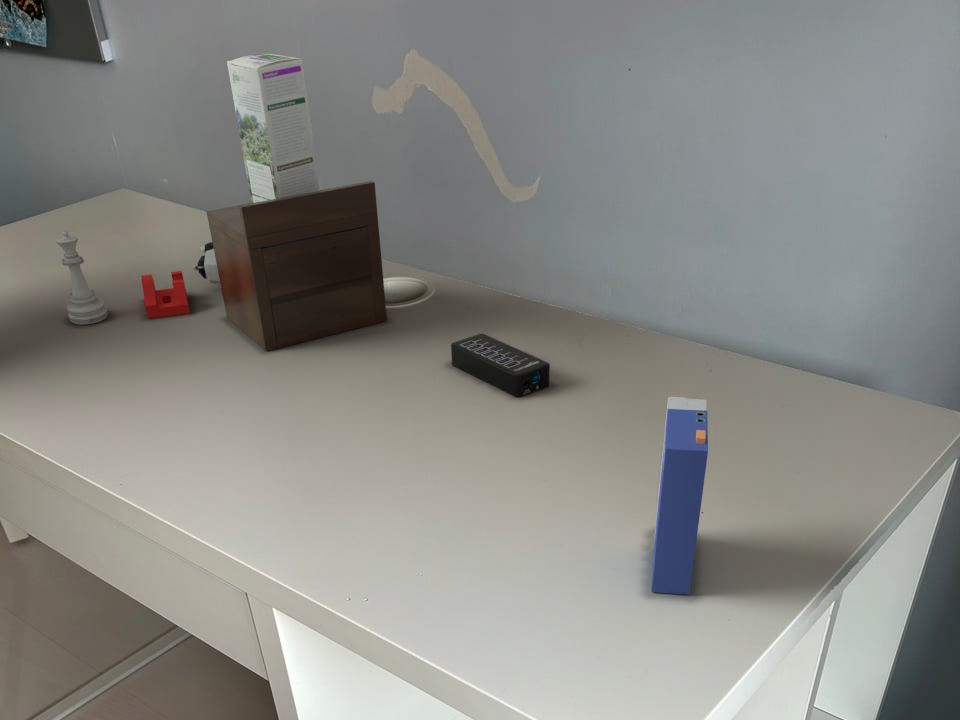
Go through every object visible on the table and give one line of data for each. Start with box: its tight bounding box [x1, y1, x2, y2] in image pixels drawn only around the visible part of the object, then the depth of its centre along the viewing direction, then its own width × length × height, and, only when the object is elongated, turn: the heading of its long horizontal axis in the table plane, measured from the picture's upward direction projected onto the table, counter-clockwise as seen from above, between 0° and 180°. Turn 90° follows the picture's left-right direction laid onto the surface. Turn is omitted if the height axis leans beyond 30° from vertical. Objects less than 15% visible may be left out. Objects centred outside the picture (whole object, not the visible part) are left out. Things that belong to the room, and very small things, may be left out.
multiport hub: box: [450, 333, 551, 398], centre depth 100 cm, size 4×11×2 cm, turn 39°
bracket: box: [140, 270, 191, 319], centre depth 118 cm, size 6×5×3 cm
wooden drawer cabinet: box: [206, 180, 388, 352], centre depth 110 cm, size 12×15×15 cm
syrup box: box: [226, 53, 321, 203], centre depth 103 cm, size 6×6×14 cm
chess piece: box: [55, 230, 109, 326], centre depth 114 cm, size 4×4×10 cm
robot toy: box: [192, 241, 221, 287], centre depth 125 cm, size 12×4×15 cm
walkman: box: [651, 396, 709, 595], centre depth 70 cm, size 8×3×12 cm, turn 170°
